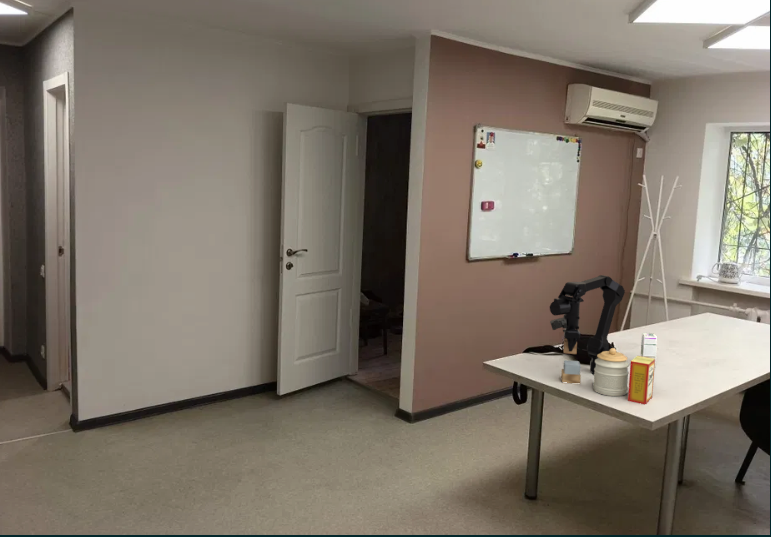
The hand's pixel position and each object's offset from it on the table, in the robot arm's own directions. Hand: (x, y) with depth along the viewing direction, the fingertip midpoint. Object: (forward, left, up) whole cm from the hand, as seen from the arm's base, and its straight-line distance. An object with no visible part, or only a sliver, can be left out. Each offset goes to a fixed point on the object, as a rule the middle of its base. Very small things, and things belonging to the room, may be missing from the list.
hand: (570, 349), depth 264 cm
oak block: (-1, +1, -13) cm, 13 cm away
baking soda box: (-25, +18, -13) cm, 34 cm away
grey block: (-1, +1, -9) cm, 9 cm away
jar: (-15, +11, -13) cm, 23 cm away
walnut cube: (0, 0, -1) cm, 1 cm away
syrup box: (-37, -28, -13) cm, 48 cm away
